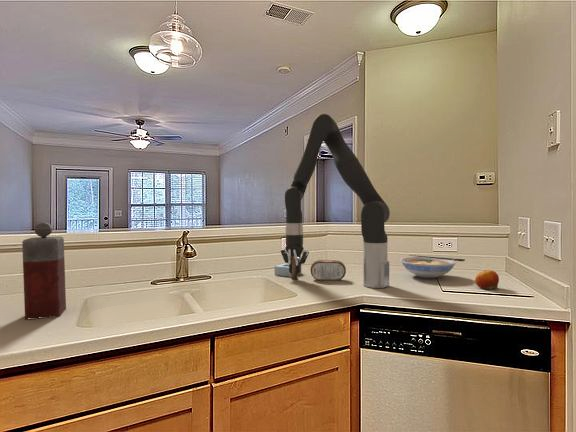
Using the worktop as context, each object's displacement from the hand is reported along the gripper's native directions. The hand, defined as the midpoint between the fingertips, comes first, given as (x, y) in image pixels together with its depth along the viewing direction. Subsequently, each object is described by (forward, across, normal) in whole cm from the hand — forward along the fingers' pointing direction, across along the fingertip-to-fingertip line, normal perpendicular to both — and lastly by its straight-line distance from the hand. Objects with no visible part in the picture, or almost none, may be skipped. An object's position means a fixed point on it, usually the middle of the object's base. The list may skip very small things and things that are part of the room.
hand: (294, 273), depth 159 cm
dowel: (+3, 0, 0) cm, 3 cm away
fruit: (+3, -71, -24) cm, 75 cm away
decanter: (+3, +38, +81) cm, 90 cm away
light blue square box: (+3, +9, -8) cm, 12 cm away
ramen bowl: (+3, -47, -34) cm, 58 cm away
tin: (+3, -13, -6) cm, 15 cm away
